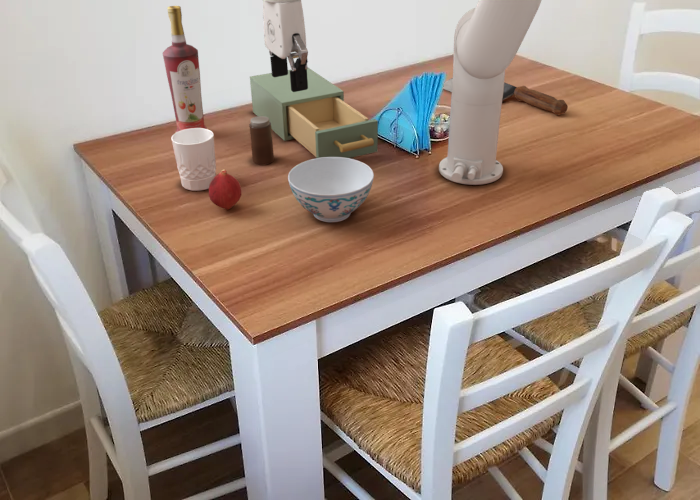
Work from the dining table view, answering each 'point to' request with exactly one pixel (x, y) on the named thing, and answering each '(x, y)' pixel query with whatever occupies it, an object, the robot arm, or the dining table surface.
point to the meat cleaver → (527, 97)
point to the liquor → (183, 76)
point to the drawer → (332, 128)
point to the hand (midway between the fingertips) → (289, 82)
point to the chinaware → (331, 186)
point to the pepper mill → (261, 140)
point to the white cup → (195, 157)
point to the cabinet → (286, 97)
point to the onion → (224, 190)
